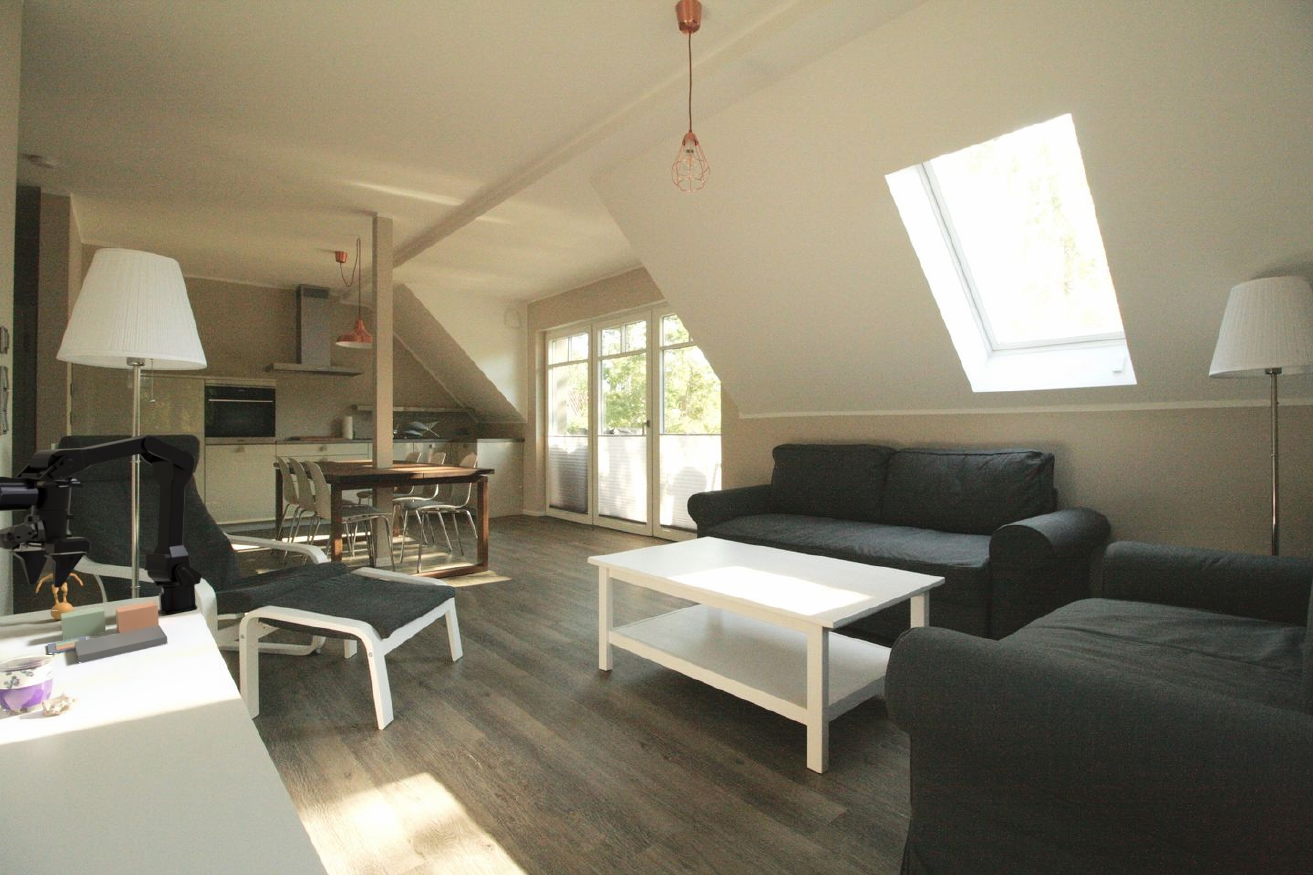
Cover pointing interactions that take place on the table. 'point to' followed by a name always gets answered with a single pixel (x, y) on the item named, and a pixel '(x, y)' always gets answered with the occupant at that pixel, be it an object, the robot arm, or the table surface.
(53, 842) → the table surface
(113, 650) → the base plate
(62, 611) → the figurine
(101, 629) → the sage brick
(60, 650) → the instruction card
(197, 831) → the table surface
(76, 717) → the table surface
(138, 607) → the terracotta brick
